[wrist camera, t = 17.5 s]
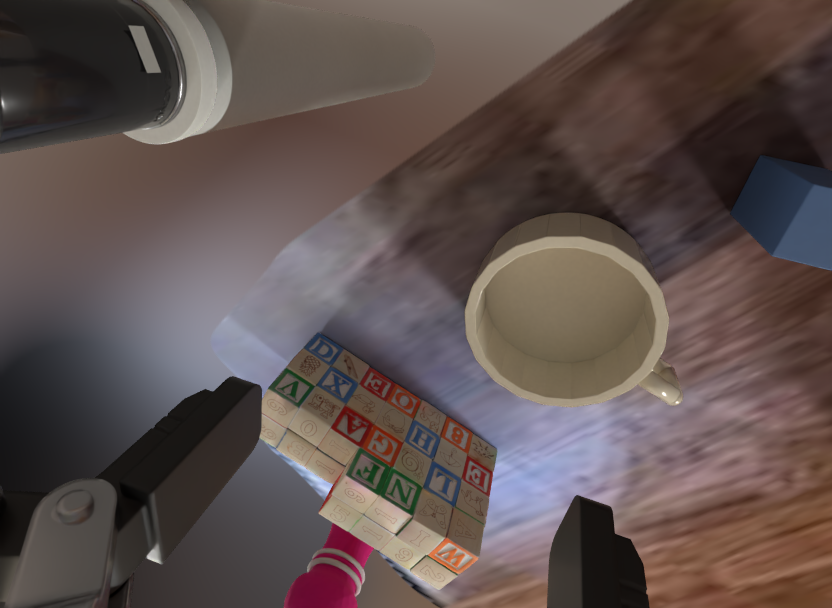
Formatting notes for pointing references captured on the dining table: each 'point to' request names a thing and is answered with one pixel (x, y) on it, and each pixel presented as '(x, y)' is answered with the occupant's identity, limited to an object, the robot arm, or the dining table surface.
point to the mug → (570, 314)
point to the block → (789, 210)
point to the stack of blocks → (383, 460)
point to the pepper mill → (332, 574)
